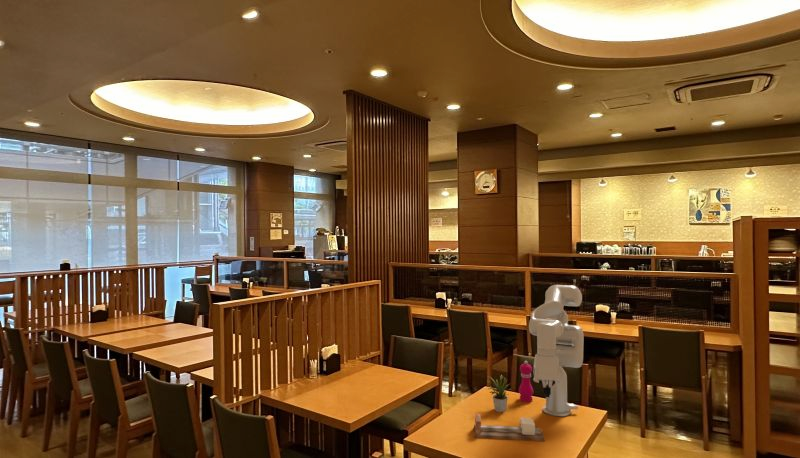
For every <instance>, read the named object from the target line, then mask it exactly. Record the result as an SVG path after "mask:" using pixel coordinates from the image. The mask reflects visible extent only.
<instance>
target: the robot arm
mask: <svg viewBox="0 0 800 458" xmlns="http://www.w3.org/2000/svg"><path fill="white" fill-rule="evenodd" d="M544 296H545V298H544V299H545V300H544V303H543V304H541V305H539V306H538V307H536V308H534V309H533V311H532V312H531V315H530V319H529V323H528V330H529V333H530V334H531V335H533V336H536V339H537V340H536V341H537V342H536V345H537V348H536V349H537V350H536V351H537V352H536V353H535V355H534V360H533V379H532V380H533V382H535V383H539V384H540V385H541V386H542V394H543V395H544V398H545V405H543V406H542V411H543V412H544V413H545V414H547V415H550V416H553V417H567V416H570V415H571V413H572V411H571V410H578V409H579V407H578V405H577V404H574V403H569V402H568V375H567V372H566V370H564V368H563V367H567V368H575V369H578V368H581V367H582V366H583V362H584V342H585V341H584V337H585V335H584V331H583V328H582V327H581V326H579V325H574V324H569V315H568V314H567V312H566V311H565V310H564V306H565V307H566V306H567V307H580V306H581V305H582V301H583V294H582V292H581V290H580V288H578V286H576V285H568V284H567V285H566V284H565V285H563V284H553V285H551V286H549V287H548V288H547V290H546V291H545V294H544Z"/></svg>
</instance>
